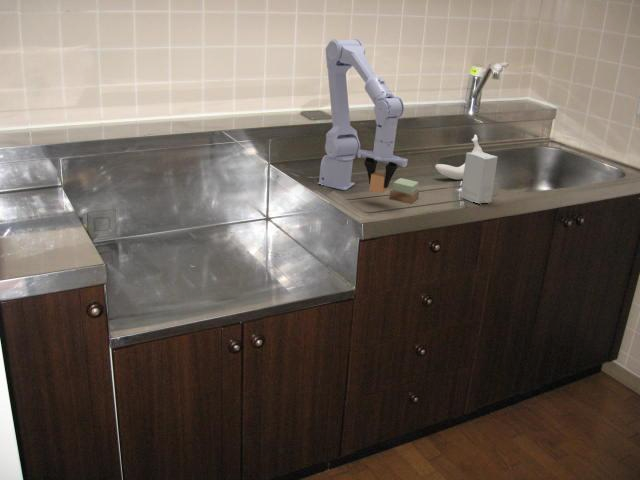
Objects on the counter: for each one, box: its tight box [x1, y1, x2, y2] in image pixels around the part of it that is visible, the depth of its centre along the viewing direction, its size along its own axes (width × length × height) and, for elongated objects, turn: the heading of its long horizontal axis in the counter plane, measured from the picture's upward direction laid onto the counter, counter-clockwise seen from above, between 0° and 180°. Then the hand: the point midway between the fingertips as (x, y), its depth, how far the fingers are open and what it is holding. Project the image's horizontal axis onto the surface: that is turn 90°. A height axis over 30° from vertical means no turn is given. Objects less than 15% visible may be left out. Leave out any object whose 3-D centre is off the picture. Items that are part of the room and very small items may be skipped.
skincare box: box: [460, 151, 499, 204], centre depth 217 cm, size 8×6×15 cm
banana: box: [434, 134, 484, 181], centre depth 237 cm, size 5×19×15 cm, turn 125°
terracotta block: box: [368, 170, 388, 194], centre depth 205 cm, size 4×4×5 cm
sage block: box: [391, 177, 420, 195], centre depth 213 cm, size 6×6×2 cm
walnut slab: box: [388, 189, 420, 205], centre depth 214 cm, size 7×7×3 cm
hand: (378, 185), depth 205 cm, fingers closed on terracotta block, 4 cm apart
